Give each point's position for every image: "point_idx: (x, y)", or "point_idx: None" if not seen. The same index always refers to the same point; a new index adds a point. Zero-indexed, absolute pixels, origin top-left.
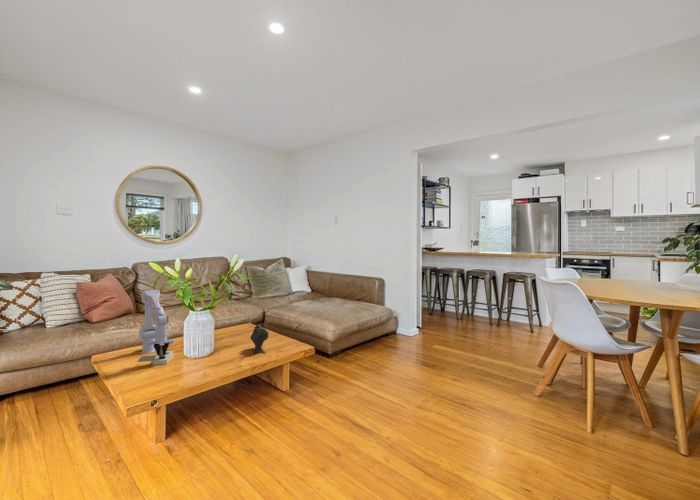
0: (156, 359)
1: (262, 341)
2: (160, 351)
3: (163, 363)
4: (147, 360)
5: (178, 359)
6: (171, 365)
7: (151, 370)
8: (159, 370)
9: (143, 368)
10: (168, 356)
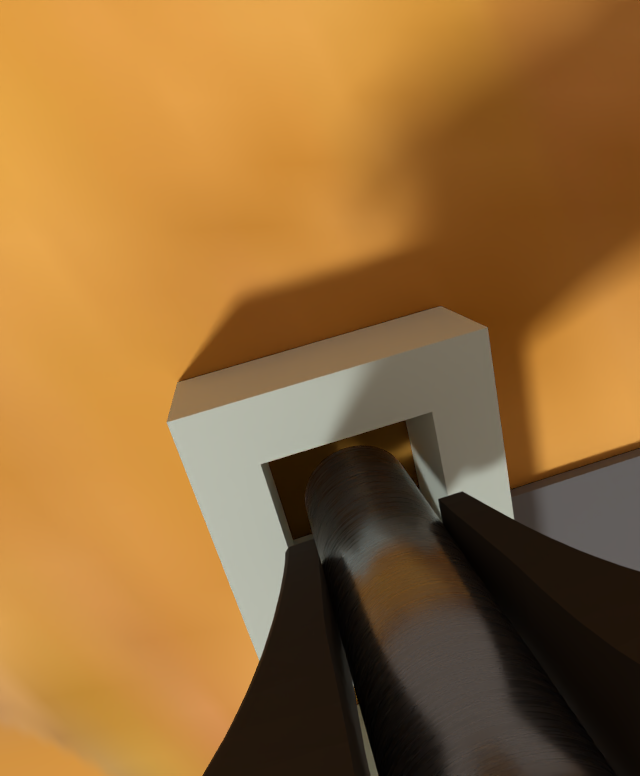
0: (438, 416)
1: None
2: (433, 584)
3: (243, 370)
4: (623, 495)
5: (108, 637)
6: (41, 346)
7: (329, 13)
8: (131, 13)
9: (552, 138)
10: (259, 608)
